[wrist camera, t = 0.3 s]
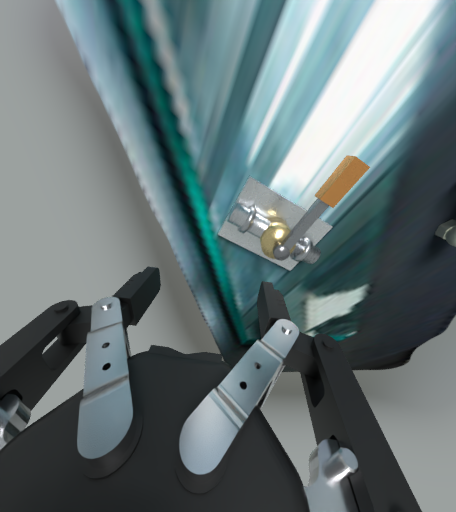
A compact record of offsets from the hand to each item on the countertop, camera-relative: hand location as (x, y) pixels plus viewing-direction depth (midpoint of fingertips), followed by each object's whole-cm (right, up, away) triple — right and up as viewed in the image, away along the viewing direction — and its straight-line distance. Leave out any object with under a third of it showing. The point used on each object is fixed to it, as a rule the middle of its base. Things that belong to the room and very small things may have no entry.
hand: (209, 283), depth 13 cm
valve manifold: (+10, +8, +21) cm, 24 cm away
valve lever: (+13, +8, +11) cm, 18 cm away
